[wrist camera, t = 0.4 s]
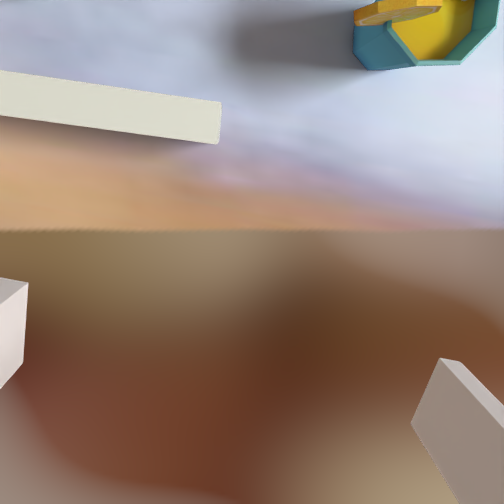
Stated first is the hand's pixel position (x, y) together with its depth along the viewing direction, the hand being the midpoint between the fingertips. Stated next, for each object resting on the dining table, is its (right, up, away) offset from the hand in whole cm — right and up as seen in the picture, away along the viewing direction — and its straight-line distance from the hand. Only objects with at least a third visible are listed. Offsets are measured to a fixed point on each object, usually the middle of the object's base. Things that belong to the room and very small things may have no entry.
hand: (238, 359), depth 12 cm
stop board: (-12, +16, +22) cm, 30 cm away
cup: (+13, +23, +22) cm, 34 cm away
